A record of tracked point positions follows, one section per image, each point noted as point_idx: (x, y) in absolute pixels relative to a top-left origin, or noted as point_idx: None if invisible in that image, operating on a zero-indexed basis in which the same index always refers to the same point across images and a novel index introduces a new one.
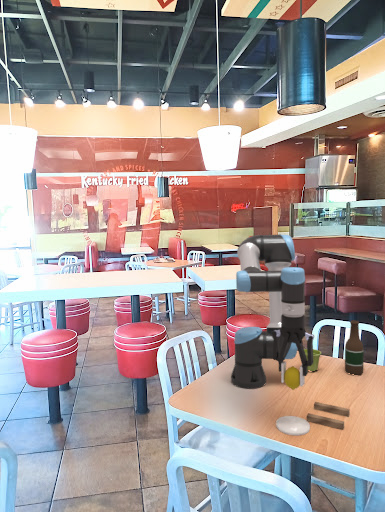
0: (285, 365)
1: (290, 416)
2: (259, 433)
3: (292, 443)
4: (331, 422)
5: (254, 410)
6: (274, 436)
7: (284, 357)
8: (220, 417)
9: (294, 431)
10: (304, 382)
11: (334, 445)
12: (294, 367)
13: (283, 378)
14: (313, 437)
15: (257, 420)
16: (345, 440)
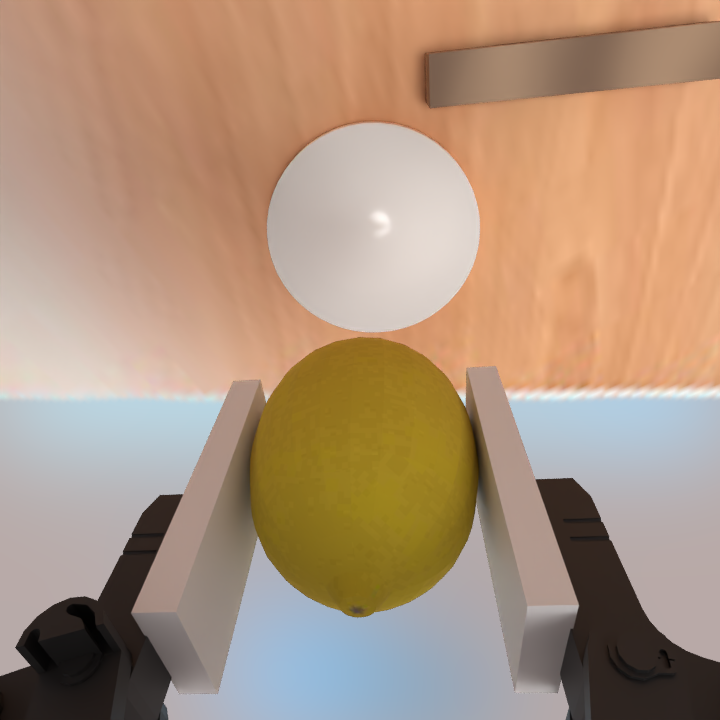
0: (208, 570)
1: (318, 151)
2: None
3: None
4: (625, 87)
5: (60, 170)
6: None
7: (110, 712)
8: (4, 356)
9: (412, 314)
10: (498, 374)
11: (634, 294)
12: (384, 589)
13: None
14: (514, 279)
15: (167, 279)
16: (701, 209)
